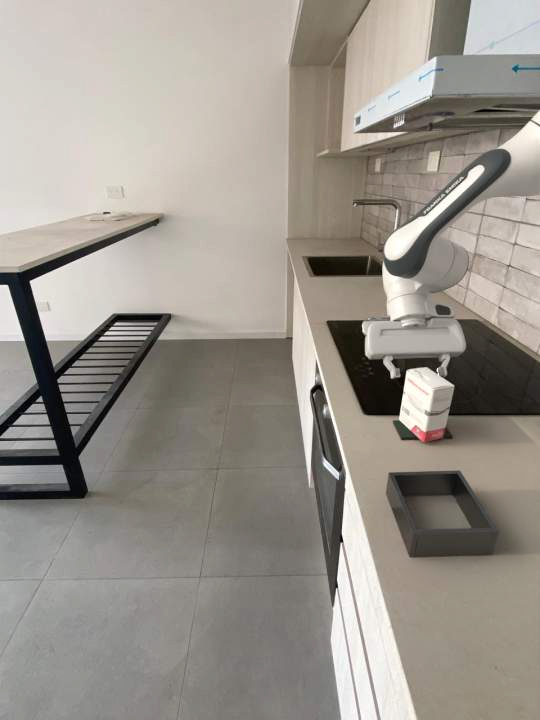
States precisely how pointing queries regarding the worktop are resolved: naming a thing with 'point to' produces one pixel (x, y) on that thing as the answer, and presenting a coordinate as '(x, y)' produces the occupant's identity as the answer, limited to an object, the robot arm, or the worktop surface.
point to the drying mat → (409, 435)
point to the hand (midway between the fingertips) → (419, 377)
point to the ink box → (426, 403)
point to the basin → (441, 540)
